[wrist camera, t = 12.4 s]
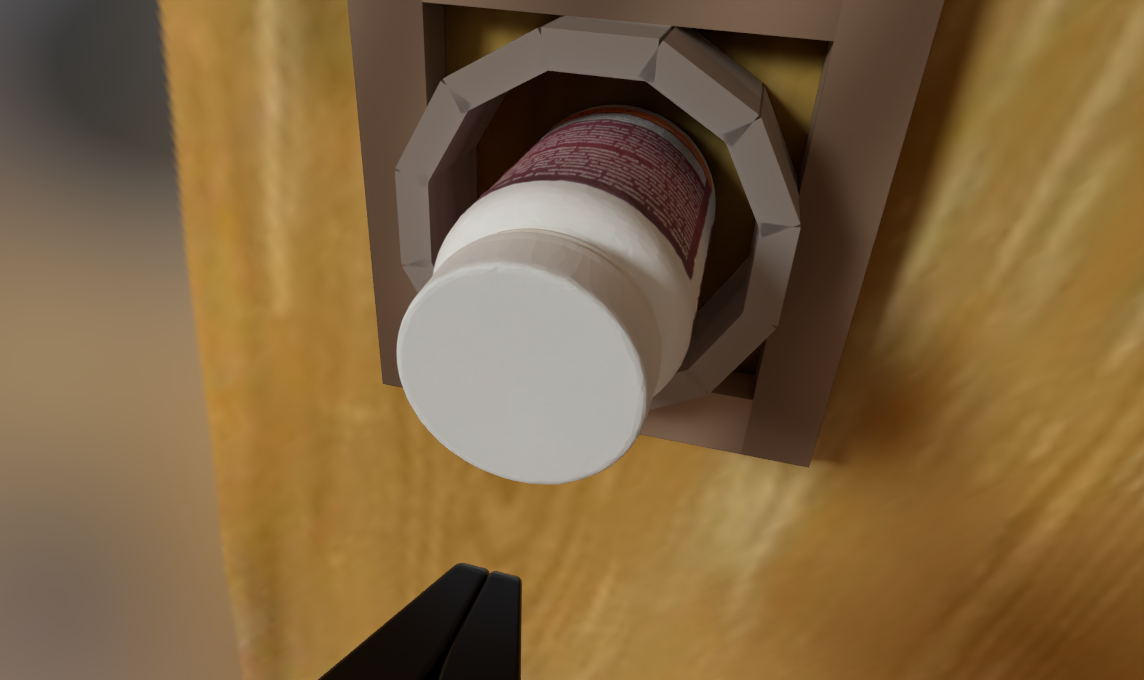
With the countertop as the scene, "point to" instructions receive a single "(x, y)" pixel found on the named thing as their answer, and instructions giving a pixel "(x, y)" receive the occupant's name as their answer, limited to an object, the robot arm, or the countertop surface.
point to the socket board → (724, 106)
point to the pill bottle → (563, 299)
